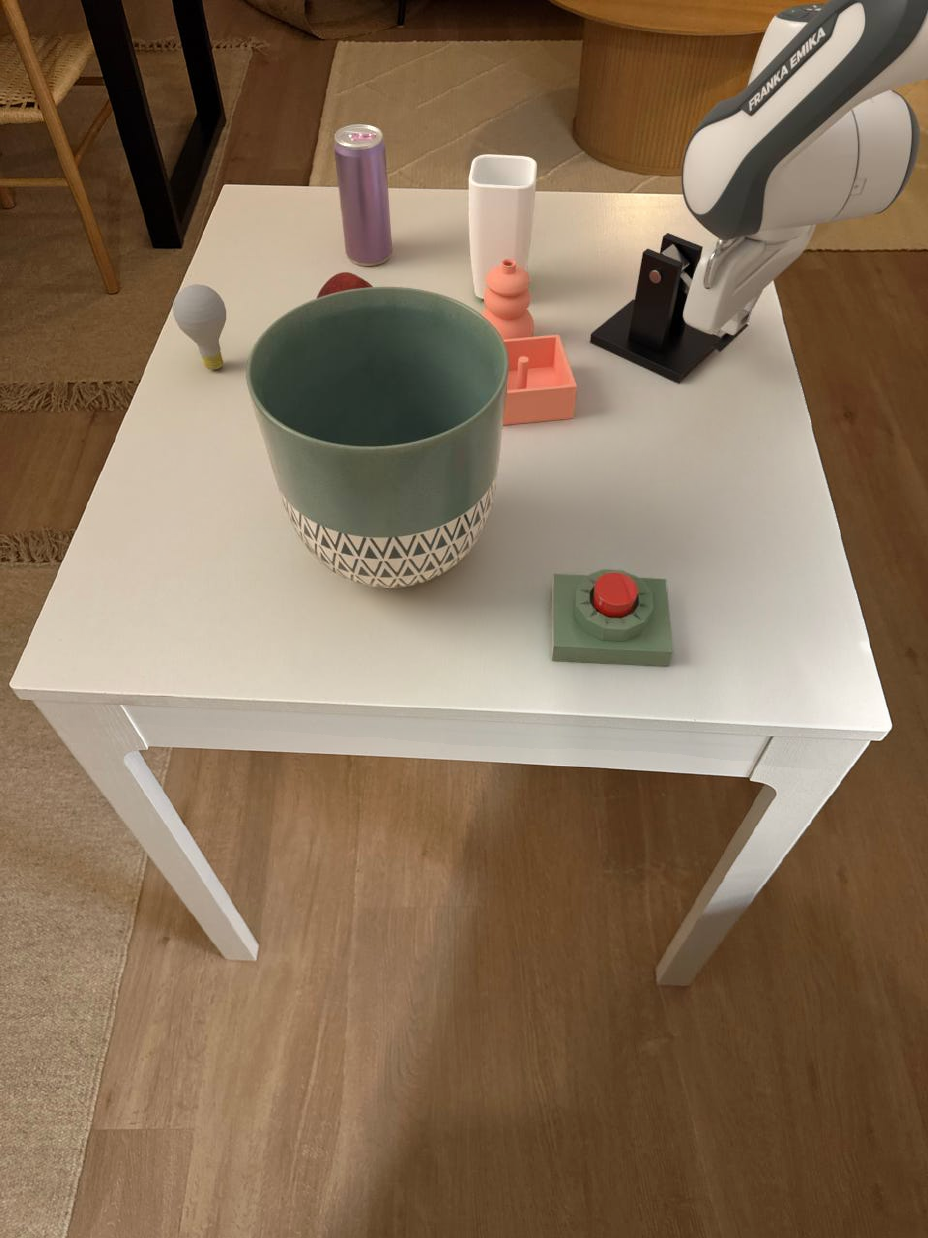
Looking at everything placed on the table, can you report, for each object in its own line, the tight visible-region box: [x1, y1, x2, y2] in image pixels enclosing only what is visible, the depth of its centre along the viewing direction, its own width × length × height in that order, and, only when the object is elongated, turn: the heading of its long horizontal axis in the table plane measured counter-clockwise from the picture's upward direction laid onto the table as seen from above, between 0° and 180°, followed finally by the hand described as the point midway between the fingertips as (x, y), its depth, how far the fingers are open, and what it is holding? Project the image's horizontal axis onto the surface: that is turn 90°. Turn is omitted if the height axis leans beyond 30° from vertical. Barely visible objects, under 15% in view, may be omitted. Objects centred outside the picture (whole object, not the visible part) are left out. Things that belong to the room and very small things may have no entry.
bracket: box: [589, 232, 722, 384], centre depth 100 cm, size 12×9×12 cm
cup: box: [468, 153, 538, 301], centre depth 105 cm, size 7×7×15 cm
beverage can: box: [333, 123, 393, 267], centre depth 110 cm, size 6×6×15 cm
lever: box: [661, 244, 749, 353], centre depth 96 cm, size 12×5×2 cm, turn 50°
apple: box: [315, 271, 374, 299], centre depth 102 cm, size 7×8×8 cm
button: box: [593, 572, 638, 617], centre depth 76 cm, size 4×4×2 cm
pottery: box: [480, 259, 578, 426], centre depth 97 cm, size 18×10×10 cm, turn 8°
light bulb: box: [172, 283, 227, 370], centre depth 98 cm, size 6×6×10 cm
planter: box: [245, 286, 509, 589], centre depth 76 cm, size 20×20×21 cm
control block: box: [551, 568, 674, 667], centre depth 78 cm, size 10×8×4 cm
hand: (733, 327), depth 96 cm, fingers closed, pressing on lever
